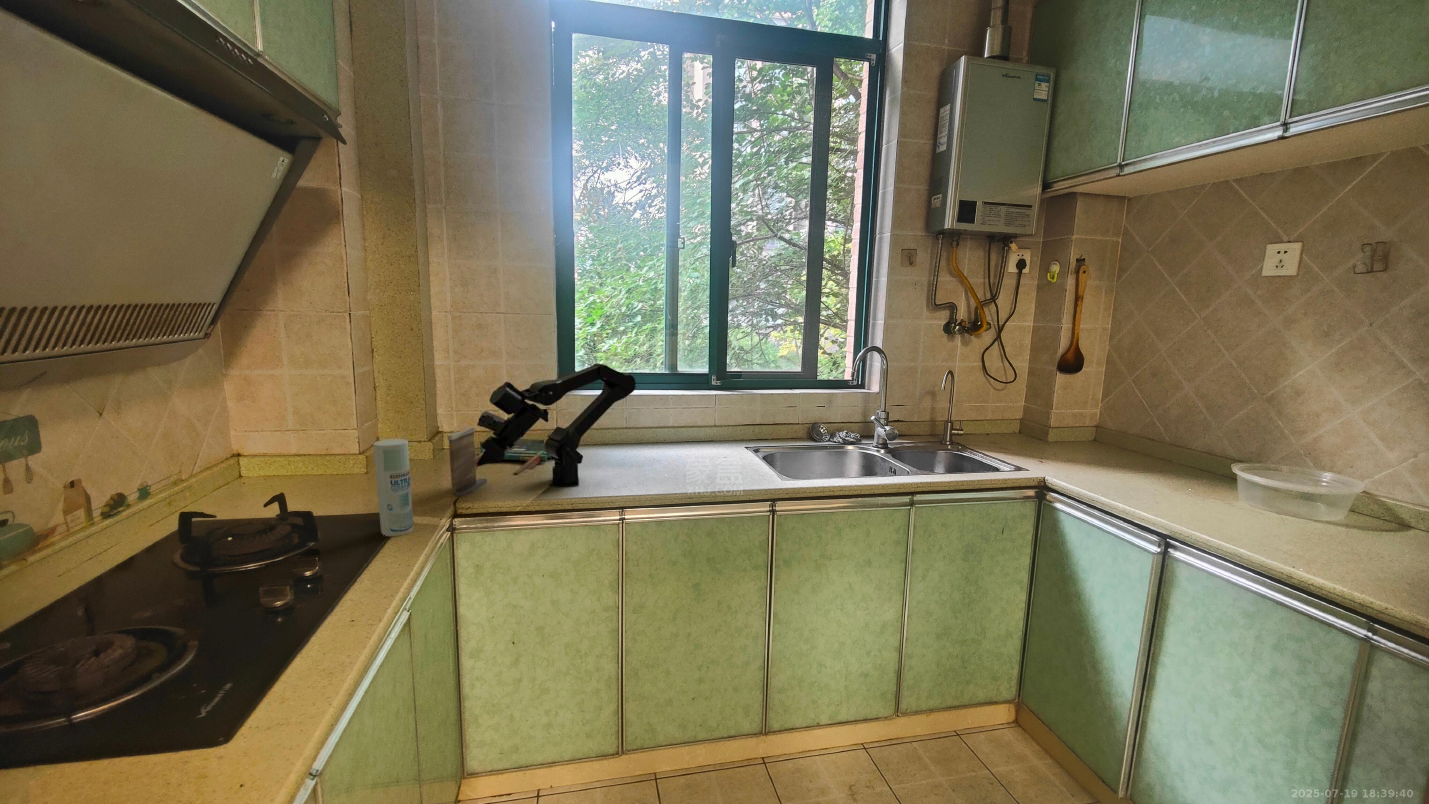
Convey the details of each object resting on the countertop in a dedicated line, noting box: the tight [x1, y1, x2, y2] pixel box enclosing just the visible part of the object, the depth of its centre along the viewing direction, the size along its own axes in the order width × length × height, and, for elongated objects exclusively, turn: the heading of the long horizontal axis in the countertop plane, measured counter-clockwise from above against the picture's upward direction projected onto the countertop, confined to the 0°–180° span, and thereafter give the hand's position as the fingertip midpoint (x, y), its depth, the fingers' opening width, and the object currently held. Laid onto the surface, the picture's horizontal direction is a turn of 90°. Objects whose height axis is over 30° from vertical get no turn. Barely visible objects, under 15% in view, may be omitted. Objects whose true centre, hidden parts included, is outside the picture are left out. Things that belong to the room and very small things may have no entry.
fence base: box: [454, 478, 488, 498], centre depth 154 cm, size 2×12×2 cm, turn 173°
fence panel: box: [447, 426, 477, 494], centre depth 153 cm, size 1×10×15 cm, turn 173°
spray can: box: [372, 438, 414, 537], centre depth 126 cm, size 6×6×20 cm
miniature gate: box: [475, 438, 551, 476], centre depth 183 cm, size 27×6×30 cm
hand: (478, 464), depth 153 cm, fingers closed
